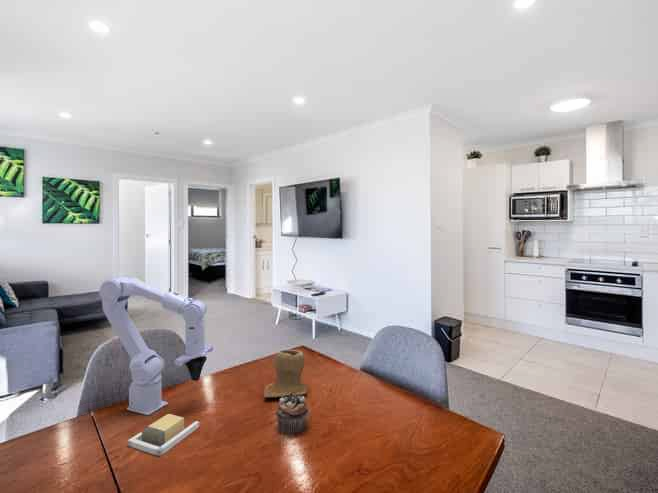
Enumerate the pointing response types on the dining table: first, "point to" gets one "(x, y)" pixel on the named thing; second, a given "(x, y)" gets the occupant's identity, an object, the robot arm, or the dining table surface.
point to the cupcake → (292, 414)
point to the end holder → (159, 451)
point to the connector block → (163, 430)
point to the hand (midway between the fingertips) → (195, 379)
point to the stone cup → (287, 374)
